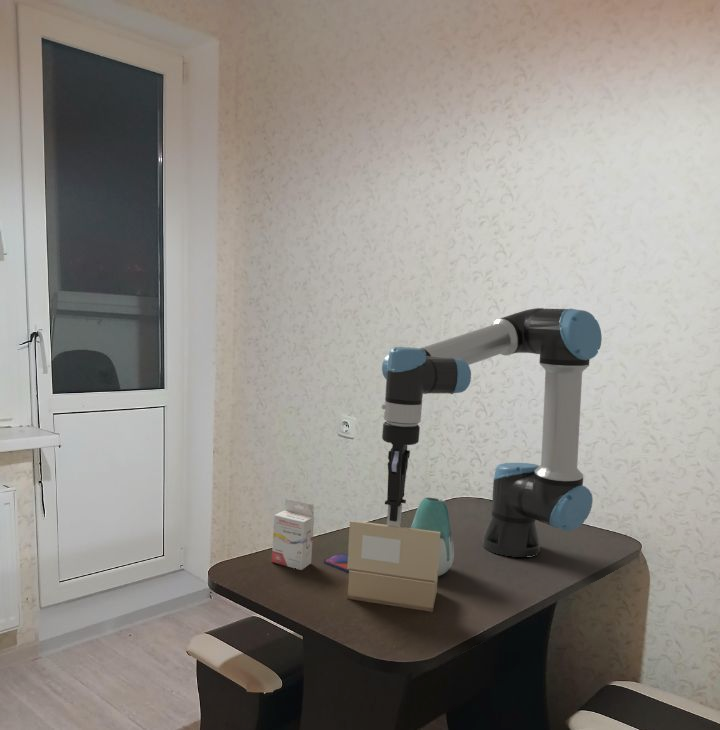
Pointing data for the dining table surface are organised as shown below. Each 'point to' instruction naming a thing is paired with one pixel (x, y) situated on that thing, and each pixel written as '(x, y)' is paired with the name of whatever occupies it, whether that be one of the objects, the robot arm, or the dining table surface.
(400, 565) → the lid
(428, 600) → the box
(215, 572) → the dining table surface
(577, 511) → the robot arm
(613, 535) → the dining table surface
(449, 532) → the vase
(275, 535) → the ink cartridge box
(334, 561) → the smartphone
